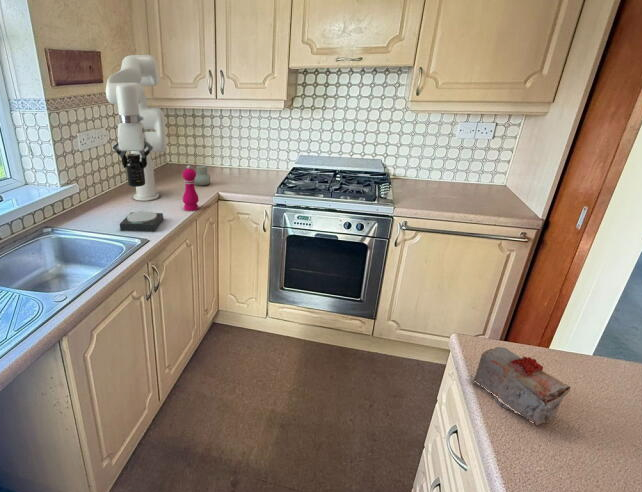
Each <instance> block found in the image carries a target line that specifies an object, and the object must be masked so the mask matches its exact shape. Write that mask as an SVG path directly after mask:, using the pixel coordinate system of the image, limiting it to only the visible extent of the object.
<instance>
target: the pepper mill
mask: <svg viewBox="0 0 642 492" xmlns="http://www.w3.org/2000/svg"><path fill="white" fill-rule="evenodd" d="M195 177H196V170H195V169H194V168H192V166H191V165H190V164H188V165H187V166H186V168H185V169H184V170H183V171H182V178H183V184H184V185H185V186H184V187H185V190H184V193H183V194H182V203H183V204H184V205H183V209H184V210H185V211H188V212H193V211H197V210H198V209H199V204H198V203H199V196H198V193H197V191H196V188H195Z"/></svg>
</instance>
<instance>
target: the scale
mask: <svg viewBox="0 0 642 492" xmlns="http://www.w3.org/2000/svg"><path fill="white" fill-rule="evenodd" d="M163 221H164V213H163V212H153V211H145V210H143V211H136V212H134V211H133V212H132V211H131V212H130V213H129V214H127V216H125V218H124V219H122V220H121V222H120V223H119V229H120V231H121V232H144V233H145V232H146V233H147V232H149V233H155V231H156V230H157V229H158V227H160V225H161V223H162V222H163Z"/></svg>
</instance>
